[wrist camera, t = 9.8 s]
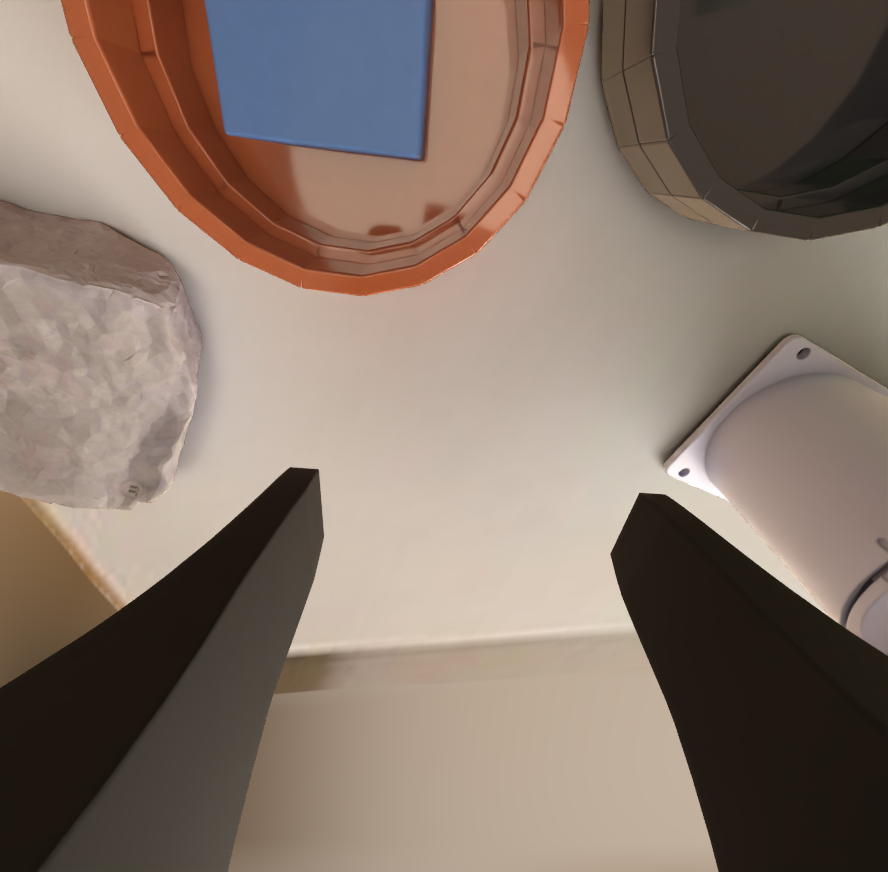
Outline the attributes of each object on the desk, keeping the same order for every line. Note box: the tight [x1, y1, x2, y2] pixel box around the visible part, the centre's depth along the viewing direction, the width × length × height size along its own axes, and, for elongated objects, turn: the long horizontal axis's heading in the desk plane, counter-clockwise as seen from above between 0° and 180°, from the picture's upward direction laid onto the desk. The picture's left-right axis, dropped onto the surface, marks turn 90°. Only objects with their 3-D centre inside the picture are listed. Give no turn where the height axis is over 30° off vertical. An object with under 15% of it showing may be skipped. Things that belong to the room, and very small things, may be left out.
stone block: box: [0, 201, 202, 510], centre depth 16 cm, size 12×5×10 cm
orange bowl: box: [61, 0, 589, 296], centre depth 11 cm, size 12×12×4 cm
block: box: [204, 0, 434, 161], centre depth 10 cm, size 4×4×4 cm
